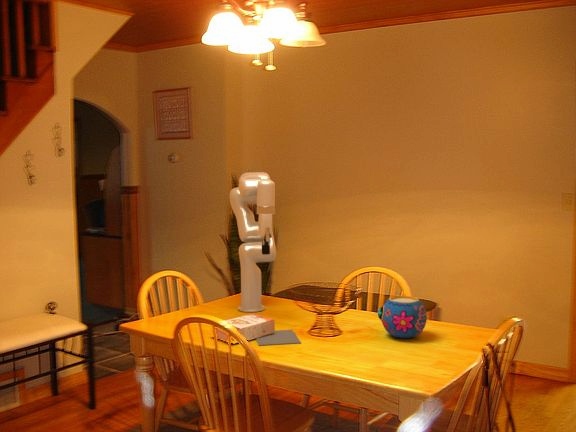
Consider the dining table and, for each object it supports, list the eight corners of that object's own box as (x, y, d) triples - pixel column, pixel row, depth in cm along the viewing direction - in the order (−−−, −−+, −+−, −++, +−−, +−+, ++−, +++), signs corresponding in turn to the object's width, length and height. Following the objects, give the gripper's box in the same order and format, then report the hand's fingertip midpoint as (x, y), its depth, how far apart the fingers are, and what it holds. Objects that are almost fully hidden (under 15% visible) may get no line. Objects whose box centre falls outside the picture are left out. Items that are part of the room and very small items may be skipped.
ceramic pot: (392, 328, 240) (392, 292, 239) (433, 335, 230) (434, 297, 229) (372, 338, 226) (372, 300, 225) (415, 346, 216) (416, 306, 215)
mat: (253, 332, 235) (253, 331, 235) (292, 330, 237) (292, 329, 237) (258, 345, 217) (258, 344, 217) (301, 343, 220) (301, 342, 220)
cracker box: (274, 318, 231) (232, 330, 217) (275, 333, 231) (233, 346, 217) (252, 312, 241) (210, 323, 227) (253, 326, 242) (211, 338, 228)
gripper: (254, 208, 248) (254, 251, 250) (259, 212, 234) (259, 257, 236) (272, 208, 250) (272, 250, 252) (277, 212, 235) (277, 257, 237)
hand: (265, 254), depth 244 cm, fingers closed
